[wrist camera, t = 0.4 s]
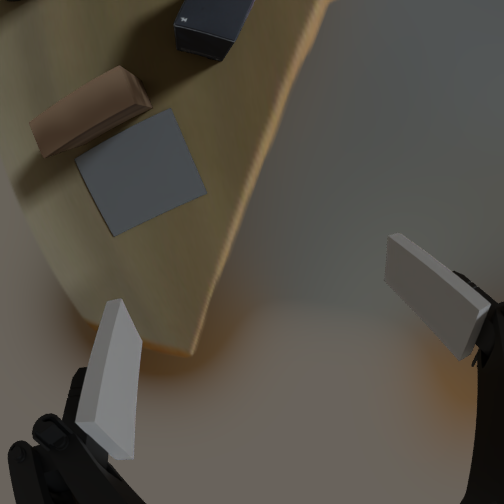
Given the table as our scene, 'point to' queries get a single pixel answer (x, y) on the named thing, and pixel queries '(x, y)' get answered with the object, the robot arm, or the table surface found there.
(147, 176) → the mat
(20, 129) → the table surface
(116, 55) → the table surface
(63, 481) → the robot arm
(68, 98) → the brown rectangular box
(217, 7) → the small box
